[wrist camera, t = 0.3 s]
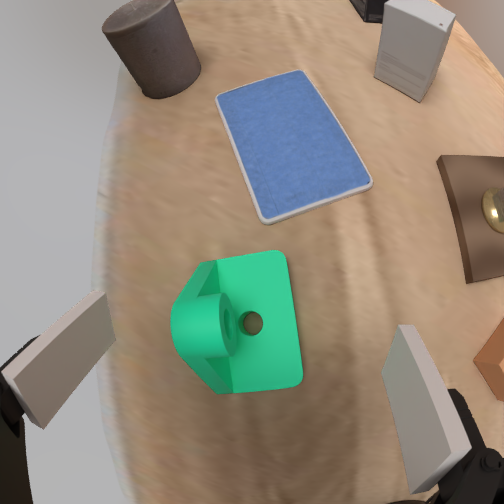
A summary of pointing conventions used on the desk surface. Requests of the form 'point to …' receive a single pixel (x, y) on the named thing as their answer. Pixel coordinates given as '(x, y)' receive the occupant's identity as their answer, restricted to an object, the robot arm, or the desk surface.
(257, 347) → the camera mount
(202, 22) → the desk surface
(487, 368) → the tan square frame
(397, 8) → the supplement box
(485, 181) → the base
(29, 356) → the robot arm
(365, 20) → the small box
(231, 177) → the desk surface
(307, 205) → the blue felt tray
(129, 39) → the pillar candle
